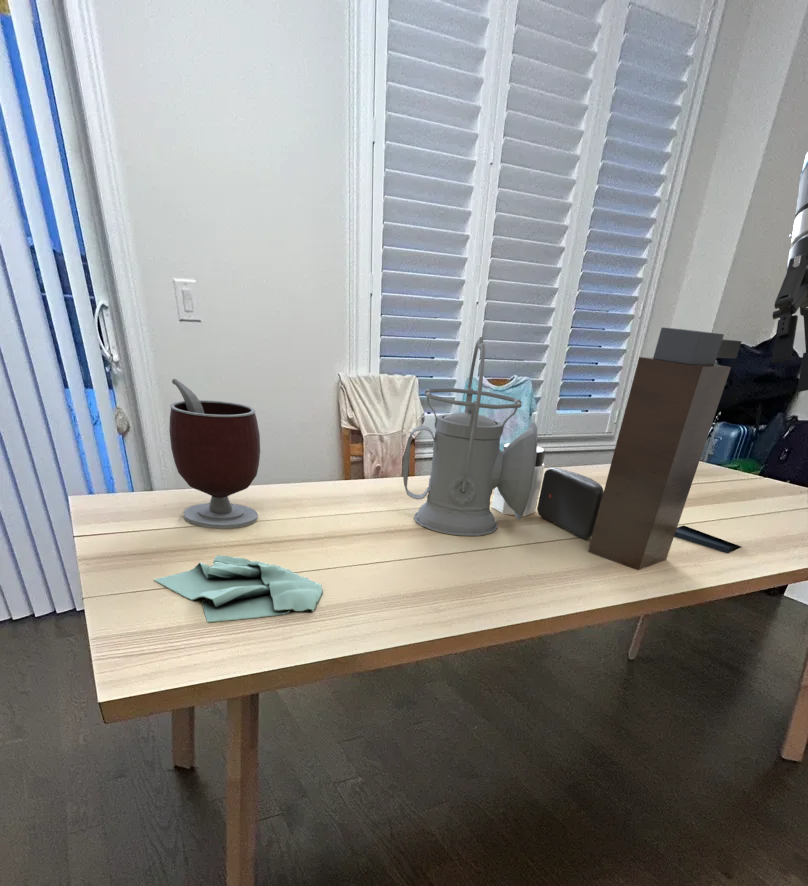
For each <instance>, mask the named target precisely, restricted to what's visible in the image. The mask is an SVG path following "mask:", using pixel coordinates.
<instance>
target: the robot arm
mask: <svg viewBox="0 0 808 886" xmlns="http://www.w3.org/2000/svg"><path fill="white" fill-rule="evenodd" d="M798 184H799V185H798V194H797V201H796V206H795V207H796V208H795V214H794V220H793V228H792V232H790V233H789V235H788V239H789V240H791V241H790V249H789V252H788V257H787V265H786V273H785V276H784V278H783V281H782V283H781V286H780V289H779V291H778V292H777V296H776V298H775V301H774V305H773V307H774V309H775V311H773V312H772V320H777V326H776V332H775V339H774V346H773V352H772V358H771V362H772V363H773V364H775V363H778V362H779V363H780V362H782V361H787V360H791V359H792V357H793V350H794V344H795V338H796V332H797V327H798V326H797V324H798V318H799V316H798V314H796V313H797V312H798V310H799V315H800V316H802V317H803V328H804V329H803V330H804V344H805V352H803V353H802V359H801V363H800V364H801V365H800V370H799V371H800V372H799V377H798V384H797V390H796V391H797V392H798V393H801V392H805V391H808V151H807V152H806V154H805V157H804V161H803V165H802V169H801V173H800V175H799V183H798ZM777 309H778V310H777Z"/></svg>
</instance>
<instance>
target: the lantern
mask: <svg viewBox="0 0 808 886" xmlns="http://www.w3.org/2000/svg"><path fill="white" fill-rule="evenodd" d="M485 345H486V344H485V343H484V337H483V336H480V337H479V338H478V339H477V340H476V343H475V346H474V350H473V355H472V360H471V365H470V370H469V375H468V383H467V389H465V388H456V387H449V388H447V387H445V388H427V389H425V391H424V396H425V397H426V400H427V405H428V407H429V409H431V411H432V412H433V414H434V418H435V419H434V429H435V433H433V431H432V429H431V428H430V427H428V426H424V425H421V426H417V427H414V428H413V429H412V431H411V432H410V435H409V436H408V438H407V441H406V445H405V449H404V453H403V460H402V479H403V485H404V489H405V492H406V495H407V496H408V497H410V498H411V499H414V500H422V499H424V498H425V497H426V501H425V502H424V503H423V504H422V505H421V506H420V507H419V508H418V510H417V511H416V512H415V514H414V516H413V519H414V521H415V522H416V523H417V524H418V525H420V526H421V527H423V528H425V529H427V530H430V531H433V532H436V533H440V534H446V535H450V536H451V535H453V536H461V537H478V536H480V537H481V536H486V535H490V534H492V533H494V532H496V531H497V530H498V523H497V522H496V518H495V516H494V514H493V512H492V511H491V498H492V496H493V491H494V488H496V487H497V488H498V490H499V492H500V494H501V496H502V497H503V499H504V500H505V501H506V503H507V504H508V506H509V507H510V508H511V509H512V510H514V511H515V515H514V516H515V519H516V520H517V521H520V520H521V519H522V518H523V514H524V512H525V509H526V506H527V503H528V500H529V496H530V491H531V487H532V482H533V476H534V471H535V463H536V454H537V446H538V427H537V424H536V422H534V421H533V422H530V424H529V426H528V427H527V430H525V431H523V432H522V433H520V434H519V435H518V436H516V437H515V438H514V439H513V440H512V441H511V442H510V444H509V445H508V446H507V447H506V448H505V450H504V451H503V450H501V449H500V447H501V443H500V442H501V437H502V436H503V433H504V428H505V425H506V423H507V422H508V421H509V419H511V418H512V417H513V416H514V415H516V413H517V410H518V409H520V408H522V406H523V404H522V401H521V399H518V398H516V397H511V396H506V395H505V394H504V395H503V394H499V393H494V392H490V391H483V384H484V383H483V382H484V381H483V380H484V370H485V359H486V358H485V357H486V347H485ZM479 350H480V361H479V362H480V363H479V373H478V374H479V375H478V385H477V390H474V388H472V386H473V377H474V371H475V367H476V360H477V357H478V352H479ZM432 393H433V394H432ZM434 393H435V394H436V393H457V394H466V396H465V401H464V400H463V401H462V400H455V399H451V398H447V397H444V396H439V395H434ZM473 395H474V396H476V399H475V400H473ZM482 396H485V397H491V398H495V399H499V400H503V401H508V402H512V403H505V404H492V403H484V402H483V403H481V398H482ZM430 400H433V401H439V402H443V403H447V404H450V405H455V406H461V407H464V412H453V413H445V414H438V415H437V413H436V410H435V409H434V407H433V406H432V405H431V403H430ZM480 409H488V410H489V409H491V410H503V409H504V410H505V409H514V410H513V412H511V413H510V414H509V415H508V416H507V417H506V418H504V420H503V422H500V421H498V420H495V419H492V418H489V417H487V416H486V415H482V414H480ZM419 431H427V432H428V433H430V435H431V437H432V440H433V444H432V457H431V458H432V459H431V465H430V466H431V468H430V477H429V480H428V487H427V488H425V491H424V492H423V493H420V494H416V493H413V492H411V491H410V490H409V489H408V480H409V471H410V470H409V469H410V460H411V447H412V437H413V435H414V433H416V432H419ZM502 451H503V452H502Z"/></svg>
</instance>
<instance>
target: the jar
mask: <svg viewBox="0 0 808 886" xmlns="http://www.w3.org/2000/svg"><path fill="white" fill-rule="evenodd" d="M510 443H511V442H510ZM510 443H505V444H504V445H503V449H502V450H501V451H502V452H503V451H504V450H505V448H506V447H507V446H508V445H509V444H510ZM545 455H546V449H545V448H543V447H541V446H538V445H537V454H536V463H535V471H534V476H533V482H532V487H531V491H530V496H529V500H528V503H527V506H526V509H525V512H524V514H523V516H522V518H523V517H527V516H529V515H532V514H535V513H536V511H537V507H538V502H539V497H540V492H541V487H542V482H543V478H544V473H545V467H546V464H544V461H545V457H546V456H545ZM491 508H492V509H494V510H495V511H497V512H499V513H500V514H503V515H509V516H515V511H514V510H512V509H511V508H510V507H509V506H508V504H507V503H506V501H505V500H504V499H503V497H502V496H501V494H500V492H499V490H498V488H497V487H496V488H494V489H493V493H492V501H491Z"/></svg>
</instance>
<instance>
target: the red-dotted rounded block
mask: <svg viewBox="0 0 808 886" xmlns="http://www.w3.org/2000/svg"><path fill="white" fill-rule="evenodd" d="M603 493H604V487H603V486H602V485H601V484H600V483H599V482H598V481H596V480H594V479H592V478H590V477H588V476H585V475H583V474H580V473H577V472H574V471H570V470H567V469H563V468H558V467H549V468H547V469H546V470H544V472H543V477H542V482H541V486H540V491H539V496H538V501H537V506H536V511H537V513H538V515H539V516H540V517H541V518H543V519H545V520H546V521H549V522H550V523H552V524H553V525H556V526H558V527H560V528H562V529H564V530H566V531H568V532H569V533H571V534H573V535H576V536H577V537H579V538H581V539H583V540H589V539H591V538H592V535H593V531H594V527H595V523H596V519H597V515H598V512H599V508H600V504H601V500H602V496H603Z"/></svg>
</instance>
